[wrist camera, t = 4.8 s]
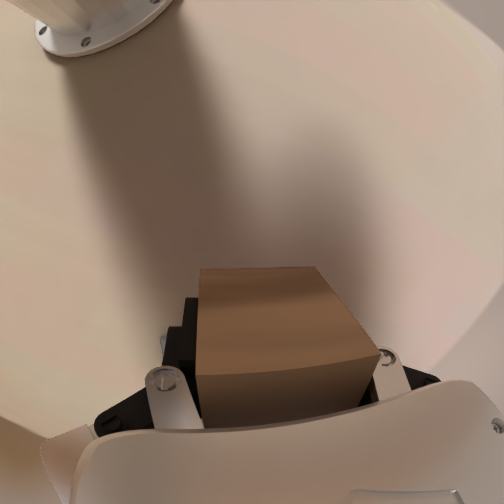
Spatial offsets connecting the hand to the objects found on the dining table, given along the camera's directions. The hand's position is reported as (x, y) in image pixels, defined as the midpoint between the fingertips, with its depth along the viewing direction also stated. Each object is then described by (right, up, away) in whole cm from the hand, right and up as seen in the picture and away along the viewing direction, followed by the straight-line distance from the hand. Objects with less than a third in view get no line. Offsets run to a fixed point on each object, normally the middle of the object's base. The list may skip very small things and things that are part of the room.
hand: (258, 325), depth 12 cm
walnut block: (0, 0, +1) cm, 1 cm away
